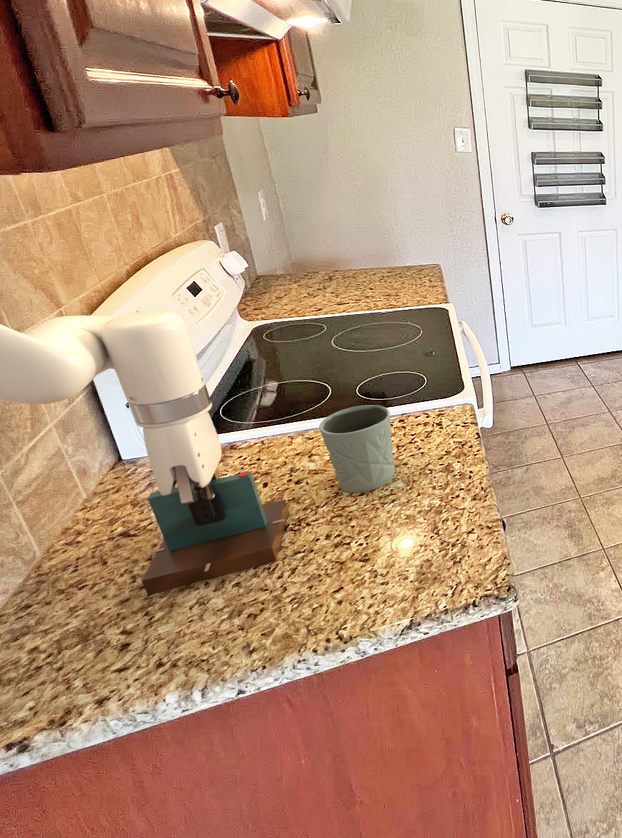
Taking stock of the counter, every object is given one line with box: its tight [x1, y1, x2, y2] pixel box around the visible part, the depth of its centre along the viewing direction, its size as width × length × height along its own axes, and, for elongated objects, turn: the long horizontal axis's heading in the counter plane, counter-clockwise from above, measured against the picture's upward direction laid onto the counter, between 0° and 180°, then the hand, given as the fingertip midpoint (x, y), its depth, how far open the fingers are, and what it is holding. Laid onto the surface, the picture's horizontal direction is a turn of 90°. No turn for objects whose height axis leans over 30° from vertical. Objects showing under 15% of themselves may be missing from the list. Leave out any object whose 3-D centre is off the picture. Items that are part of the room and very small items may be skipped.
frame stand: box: [141, 499, 290, 596], centre depth 83 cm, size 15×15×3 cm
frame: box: [147, 470, 267, 551], centre depth 81 cm, size 11×1×9 cm, turn 119°
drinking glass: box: [318, 404, 396, 494], centre depth 99 cm, size 10×10×12 cm
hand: (213, 516), depth 82 cm, fingers closed
